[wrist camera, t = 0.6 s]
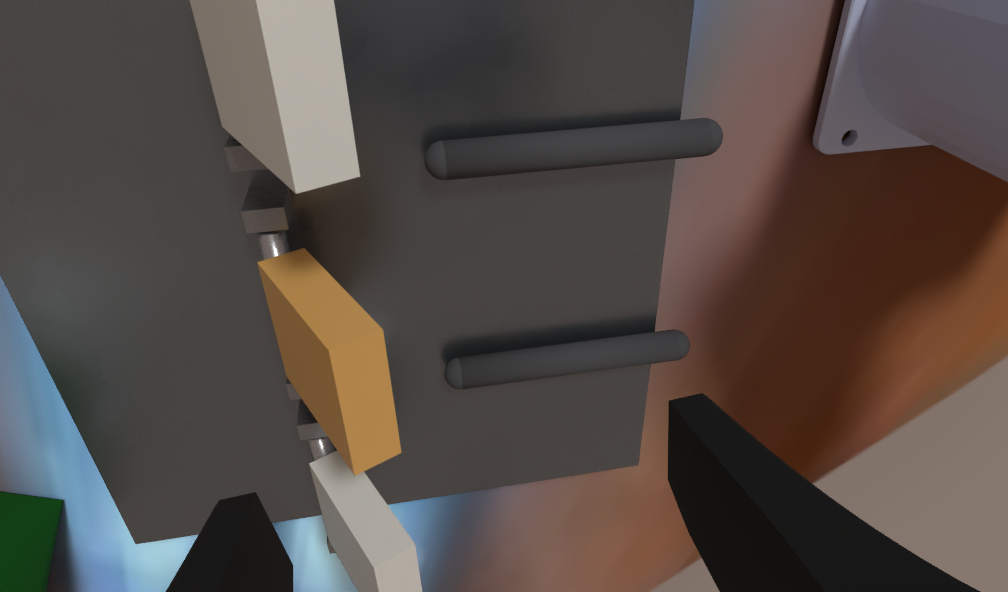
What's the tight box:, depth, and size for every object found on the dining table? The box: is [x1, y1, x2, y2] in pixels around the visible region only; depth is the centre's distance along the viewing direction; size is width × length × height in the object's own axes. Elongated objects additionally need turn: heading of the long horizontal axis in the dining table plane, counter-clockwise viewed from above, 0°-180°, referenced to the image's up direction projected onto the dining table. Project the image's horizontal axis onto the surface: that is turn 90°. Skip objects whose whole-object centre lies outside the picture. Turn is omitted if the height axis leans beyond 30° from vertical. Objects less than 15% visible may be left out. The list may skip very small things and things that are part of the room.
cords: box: [424, 118, 723, 390], centre depth 20 cm, size 8×8×1 cm
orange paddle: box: [257, 248, 401, 476], centre depth 16 cm, size 1×4×4 cm, turn 2°
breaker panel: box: [0, 0, 694, 554], centre depth 19 cm, size 18×20×3 cm
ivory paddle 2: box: [309, 451, 422, 592], centre depth 20 cm, size 1×4×4 cm, turn 1°
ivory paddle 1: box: [190, 0, 360, 194], centre depth 12 cm, size 1×4×4 cm, turn 2°
